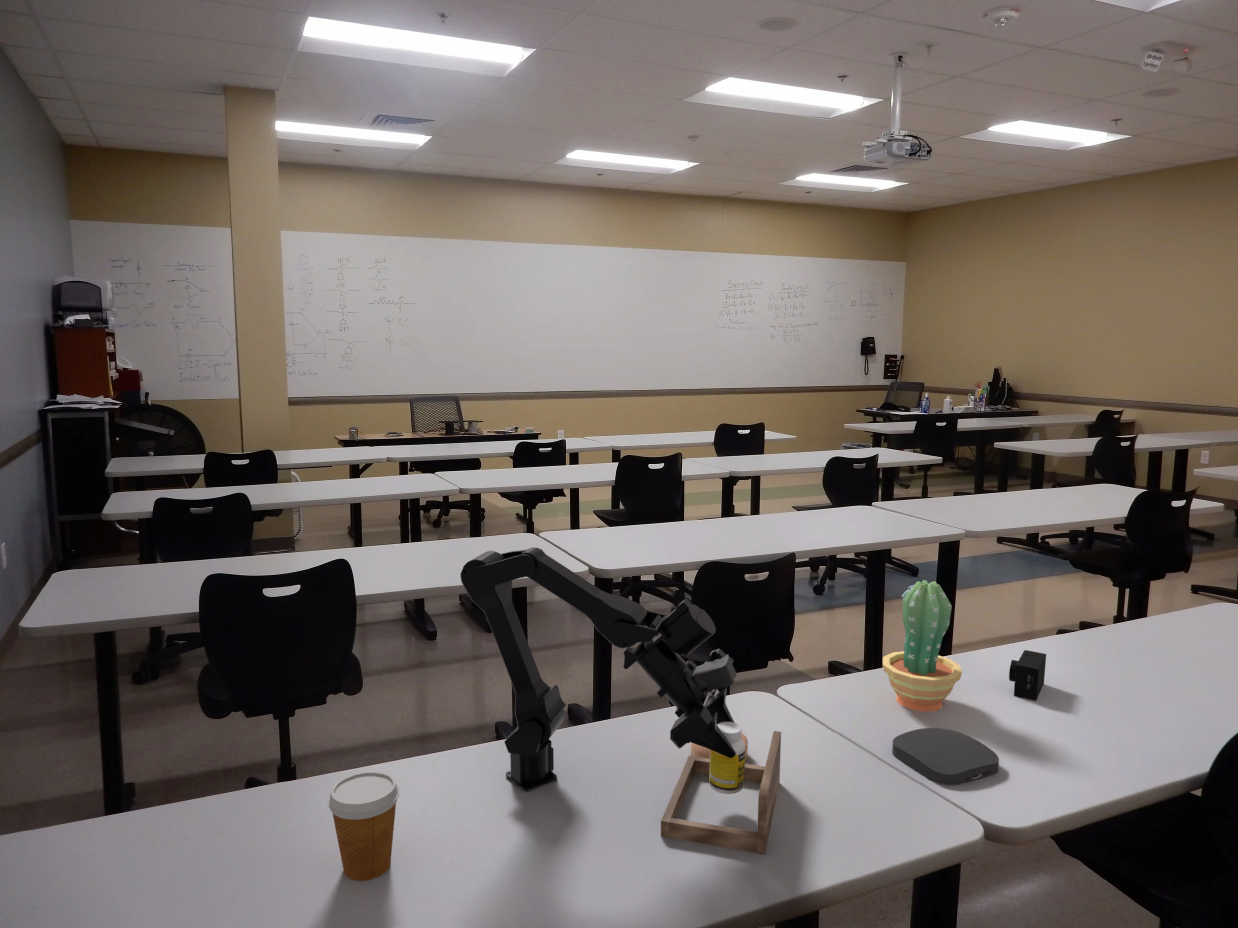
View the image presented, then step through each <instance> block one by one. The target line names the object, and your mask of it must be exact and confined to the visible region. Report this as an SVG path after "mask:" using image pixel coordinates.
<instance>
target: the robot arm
mask: <svg viewBox="0 0 1238 928" xmlns="http://www.w3.org/2000/svg"><path fill="white" fill-rule="evenodd" d="M526 577H527V578H528V579H529V580H531V581H533V582H534V583H536V584H538V585H539V586H541V587H542V588H544V589H545V590H547V591H548V592H550V593H551V594H553V595H554V596H556V597H557V598H559V599H561V601H564V602H565V603H566V604H567V605H569V606H571V607H572V608H574V609H576V610H578V612H580V613H581V614H583V615H585V617H586V618H588V619H589V620H590V621H591V623H592V625H593V626H594V628H595V629H596V630H597V632H598V633H600V634H601V636H603V637H604V639H606V640H607V641H608V642H609V643H610V644H612V645H613V646H614V647H616V648H619V649H625V650H624V651H623V657H624V659H623V668H624V669H625V670H627V669H629V668H631V666H633V665H634V664H635V663H637V665H638V666H639V667H640V668H641V669H642V670H643V672H645V674H646V675H647V676H648V678H650V679H651V681H652V682H653V683H654V684H655V686H657V687H658V690H657V692H656V694H657V695H658V696H659V697H660V698H662V697H666V698H668V700H669V701H670V702H671V704H672V705H673V706H675V708H676V709H675V711H674V714H675V715H676V716H677V717H678V718H677V719H676V720H675V721H674V723H673V725H672V727H671V729H670V730H669V731H670V733H669V738H670V741H671V743H673V744H674V745H675V746H676V747H677V749H681V748H682V747H684V746H685V745H687V744H691V743H694V744H697V745H700V746H702V747H705V748H708V749H710V750H712V751H715V752H717V753H719V754H722V755H724V756H726V757H729V758H733V757H734V756H735V755H736V752H735V751H734V749H733V747H732V746H731V744H730V743H729V742H728V740H727V739H726V737H725V736H724V734H723V733H722V732H721V730H720V729H719V727H718V726H717V724H719V723H721V722H733V723H736V722H735V721H734V717H732V714H731V712H730V711H729V708H728V706H727V703H726V699H727V692H728V690H727V688H729V687H730V686H732V685H733V684H734V683H735V678H736V677H737V672H736V670H735V667H734V665H733V663H734V659H733V658H732V657H730V655H729V654H726V653H725V652H724V651H723V650H722V649H720V648H717V649H715V650H712V651H710V654H709V659H708V660H709V661H708V660H706V661H704V663H703V664H701V665H697V664H696V663H695V662H694V661H693V660H690V659H688V660H687V661H685V660H684V658H682V657H681V655H685V656H689V655H690V654H691V653H693V652H694V651H695V650H696V649H697V648H699V647H700V646H701V645H702V644H703V643H705V642H706V641H707V640H709V638H710V637H712V636H713V635H714V634H715V633H716V632H717V630H716V626H715V623H714V621H713V620H712V618H711V616H710V615H709V614H708V613H707V612H706V610H705V609H702V608H700V607H699V606H698V605H696V604H693V603H691V602H690V600H688V599H686V598H685V599H683V600H682V601H681V602H680V603H679V604H678V605H677V607H676V608H675V609H674V610H672V611H671V612H670V613H669V614H665V613H661V612H657V611H652V610H649V609H646V608H645V607H644V606H643V605H642V604H640V603H638V602H636V601H633V600H631V599H629V598H627V597H624V596H621V595H617V594H613V593H608V592H606V591H604V590H602V589H600V588H598V587H597V586H596V585H594V584H592V583H591V582H589V581H588V580H586V579H585V578H583V577H582V576H580V575H578V574H577V573H575V572H574V571H572V570H571V569H570V568H568V567H566V566H565V565H563V564H562V563H560V562H559V561H557V560H555V559H554V558H552V557H551V556H549V555H548V554H546V553H545V551H544V550H542V549H541V548H538V547H529V548H528V549H522V550H511V551H507V552H503V553H500V552H498V551H495V550H488V551H485V552H483V553H481V554H480V555H478V556H476V557H474V558H472V559H471V560H469V561H467V562H466V563H465V564H464V565H463V566H462V569H461V572H460V581H461V584H462V586H463V587H464V590H465V592H466V593H467V594H468V596H469V598H470V600H471V601H472V602H473V603H475V605H476V606H478V607H479V609H481V610H482V611H483V613H484V614H485V617H486V619H487V622H488V625H489V627H490V629H491V632H492V635H493V639H494V640H495V642H496V646H497V649H498V651H499V653H500V656H501V659H502V661H503V663H504V667H505V669H506V671H507V675H508V676H509V679H510V683H511V684H512V685H511V686H512V687H513V690H514V694H515V698H514V699H515V701H514V703H515V704H514V715H515V718H516V724H517V727H516V728H514V730H513V731H512V732H511V733H510V734H509V735H508V736H507V738H505V740H504V745H505V747H506V750H507V753H508V754H509V756H510V757H509V760H510V762H509V763H510V770H509V771H507V772H505V777H506V778H507V779H509V780H510V781H511V782H513V783H514V784H515V785H516V786H518V787H519V788H520V789H522V790H523V791H530V790H532V789H535V788H537V787H541V786H542V785H545V784H548V783H551V782H553V781H555V780H557V779H558V775H557V774H556V773H554V772H553V771H554V769H555V768H554V766H555V765H554V764H555V762H554V761H555V760H554V758H555V756H554V747H552V740H551V737H552V736H553V735H554V734H555V732H556V731H557V729H559V727H560V726H561V724H562V723H563V721H564V718H565V713H566V712H565V708H566V707H567V705H566V703H565V702H564V700H563V699H562V696H561V692H560V688H559V686H558V685H557V684H554V685H552V686H551V687H550V686H549V685H548V684H547V682H545V681H544V679H542V677H541V674H540V672H539V669H538V667H537V664H536V661H535V659H534V656H533V654H532V651H531V647H530V645H529V642H528V640H527V638H526V635H525V632H524V630H523V626H522V624H521V621H520V619H519V615H518V614H517V611H516V609H515V608H516V607H515V606H514V604H513V598H512V597H513V596H512V595H513V593H512V592H513V581H515V580H517V579H522V578H526ZM637 643H638V644H637ZM636 644H637V645H636ZM634 645H635V647H633V646H634ZM721 688H722V690H720V691H719V690H718V689H721Z"/></svg>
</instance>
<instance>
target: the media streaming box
mask: <svg viewBox="0 0 1238 928" xmlns="http://www.w3.org/2000/svg"><path fill="white" fill-rule="evenodd" d="M891 749H892V751H891V753H892V755H893V756H894V757H895V758H896V759H898V760H899V761H900V762H902V763H903V764H905V765H906V766H907V767H909V768H911V770H913V771H915V772H917V773H918V774H920V775H921V776H923V777H925V778H926V779H928V780H930V781H931V782H935V783H937V784H941V785H946V786H947V785H948V786H957V785H962V784H967V783H970V782H975V781H977V780H980V779H981V780H982V779H985V778H987V777H991V776H995V775H996V774H997V773H998V772H999V763H1000V759H999V756H998V754H997V753H996V752H995V751H994V750H992V749H991V748H989V747H988V746H987V745H985V744H984V743H982V742H981V741H979V740H978V739H975V738H974V737H971V736H969V735H967V734H964V733H963V732H960V731H956V730H952V729H948V728H942V727H923V728H917V729H913V730H910V731H907V732H904V733H902V734H898V735H897V736H895V737H894V738H893V740H892V748H891Z"/></svg>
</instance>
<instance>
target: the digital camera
mask: <svg viewBox="0 0 1238 928" xmlns="http://www.w3.org/2000/svg"><path fill="white" fill-rule="evenodd" d="M1046 661H1047V653H1043V652H1038V651H1034V650H1028V649H1024V650H1023V652H1022V654H1021V656H1020V657H1019V658H1018V660H1015V659H1011V662H1010V666H1009V673H1008V680H1009V682H1013V683H1014V687H1013V697H1016V698H1021V699H1024V700H1025V699H1026V700H1030V701H1033V702H1037V700H1038V698H1039V696H1040V694H1041V691H1042V689H1043V687H1044V685H1045V676H1046V675H1045V674H1046V664H1047V663H1046Z"/></svg>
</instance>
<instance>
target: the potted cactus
mask: <svg viewBox="0 0 1238 928" xmlns="http://www.w3.org/2000/svg"><path fill="white" fill-rule="evenodd" d="M901 597H902V598H903V599H902V604H901V605H902V606H901V607H902V608H901V609H902V622H903V623H902V624H903V626H904V631H905V633H904V634H905V636H904V647H903V649H904V650H903V651H894V652H890V653H889V654H887V655H885V656H882V667H883V672H885V673H886V674H887V676H888V677H887V678H888V680H889V684H890V686H891V688H892V690H893V691H894V692H895V693H896V702H897V703H898V704H899V705H901V706H902V707H904V708H907V709H909V710H911V711H917V712H925V713H926V712H927V713H928V712H929V713H930V712H937V711H939V710H940V709H943V701H944V700H945V699H946V698H947V697H948V696H949V695H950V694H951V693H952V690H953V688H954V686H955V685H956V683H957V682H958V681H960V680H961V677H962V671H963V670H962V667H961V665H960V664H958V663H957V662H955V661H953V660H952V659H950V658H949V657H944V656H941V655H939V652H940V650H941V645H942V641H943V637H944V635H945V634H946V632H947V631H948V629H949V627H950V620H951V615H952V607H953V606H952V603H951V601H949V598H948V597H947V595H946V593H945V591H944V590H943V588H942V587H941V585H940V584H938V582H936V581H931V582H929V581H928V580H926V579H923V580H922V582H921V581H918V580H917V582H916V583H915V584H912V585H909V586H908V587H907V590H905V591H904V593H903V594H901Z"/></svg>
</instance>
